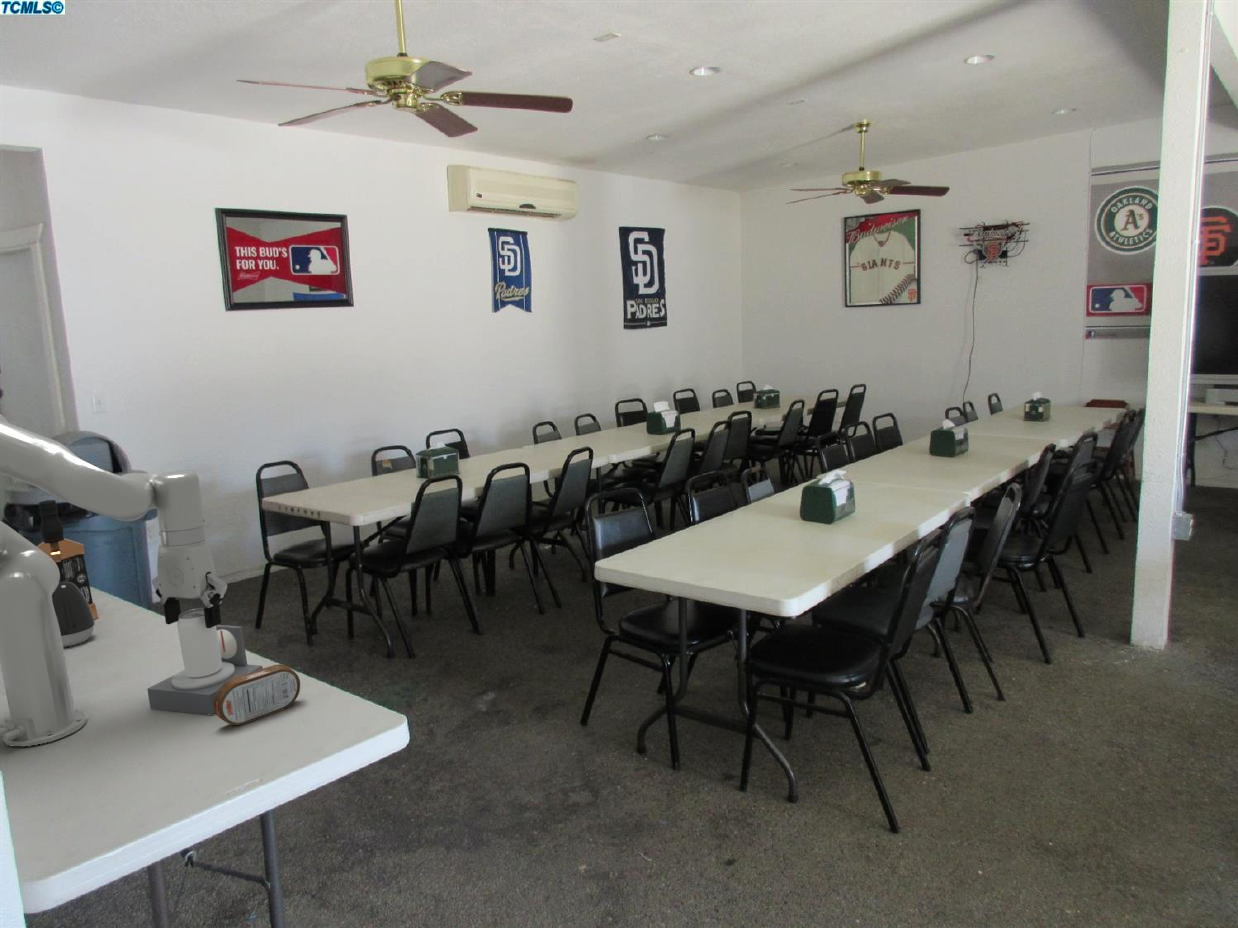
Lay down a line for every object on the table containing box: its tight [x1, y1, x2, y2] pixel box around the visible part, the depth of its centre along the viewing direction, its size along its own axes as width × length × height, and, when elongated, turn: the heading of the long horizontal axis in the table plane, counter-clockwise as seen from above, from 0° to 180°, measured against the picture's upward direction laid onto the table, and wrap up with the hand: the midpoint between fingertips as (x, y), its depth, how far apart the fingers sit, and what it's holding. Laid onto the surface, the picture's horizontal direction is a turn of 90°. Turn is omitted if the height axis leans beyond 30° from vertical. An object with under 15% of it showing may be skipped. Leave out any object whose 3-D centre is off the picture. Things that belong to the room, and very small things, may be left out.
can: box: [176, 607, 222, 678], centre depth 165 cm, size 6×6×12 cm
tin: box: [213, 663, 301, 726], centre depth 156 cm, size 15×3×8 cm, turn 135°
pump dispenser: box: [52, 581, 96, 648], centre depth 202 cm, size 10×10×15 cm
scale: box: [147, 624, 263, 716], centre depth 166 cm, size 14×15×12 cm
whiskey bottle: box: [36, 499, 99, 620], centre depth 216 cm, size 10×10×32 cm
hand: (193, 623), depth 164 cm, fingers open, 9 cm apart
